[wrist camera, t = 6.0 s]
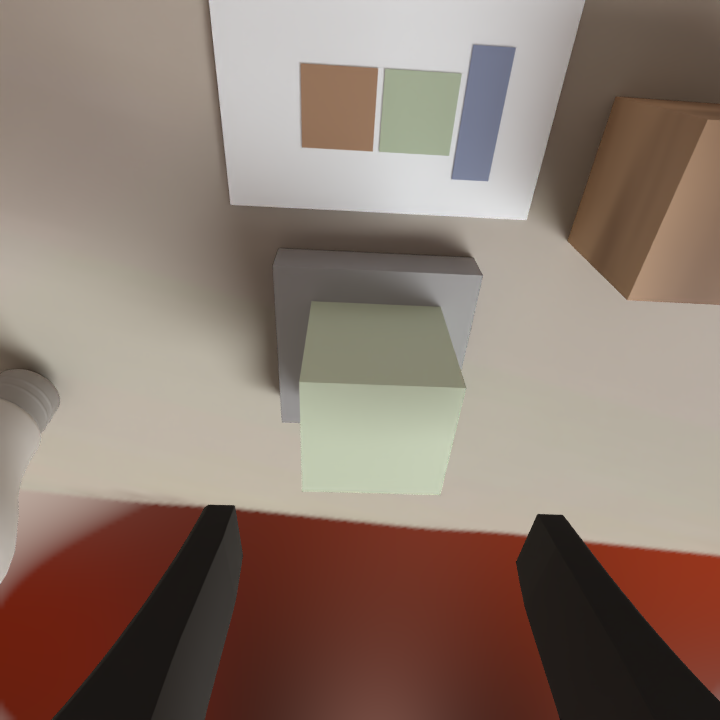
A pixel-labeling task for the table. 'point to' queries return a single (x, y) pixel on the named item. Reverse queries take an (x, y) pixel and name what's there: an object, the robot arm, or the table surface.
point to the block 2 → (655, 202)
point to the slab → (364, 298)
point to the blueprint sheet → (390, 102)
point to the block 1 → (377, 399)
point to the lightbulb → (19, 444)
